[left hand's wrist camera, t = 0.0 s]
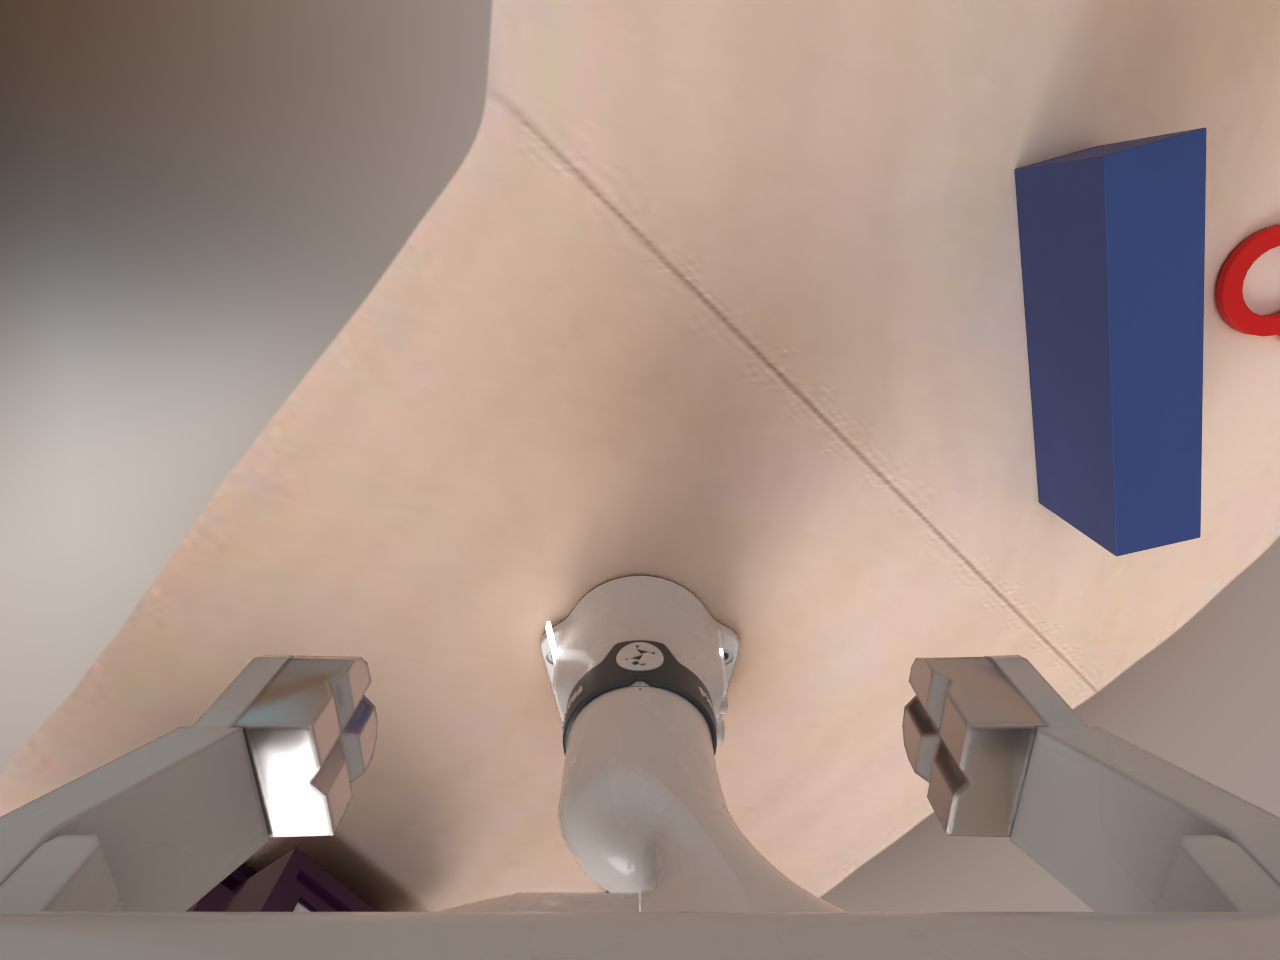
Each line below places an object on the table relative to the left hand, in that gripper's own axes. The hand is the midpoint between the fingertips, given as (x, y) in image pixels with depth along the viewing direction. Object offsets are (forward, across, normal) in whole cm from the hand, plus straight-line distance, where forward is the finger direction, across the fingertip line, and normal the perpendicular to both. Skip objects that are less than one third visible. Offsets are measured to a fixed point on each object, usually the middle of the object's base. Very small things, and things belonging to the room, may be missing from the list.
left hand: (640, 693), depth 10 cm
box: (+48, +35, -2) cm, 59 cm away
